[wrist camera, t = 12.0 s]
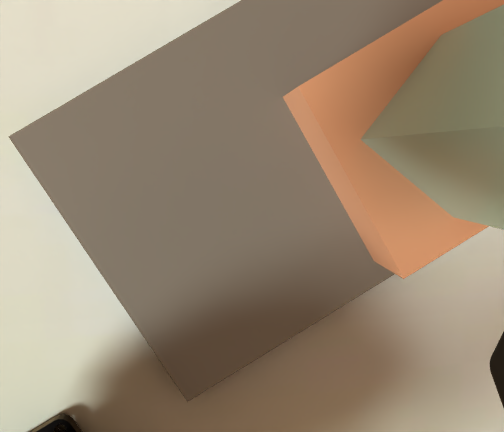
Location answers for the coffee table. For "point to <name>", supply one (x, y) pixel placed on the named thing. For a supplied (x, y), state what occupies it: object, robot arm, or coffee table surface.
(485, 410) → the coffee table surface
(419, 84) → the tall brick
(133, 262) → the baseplate
